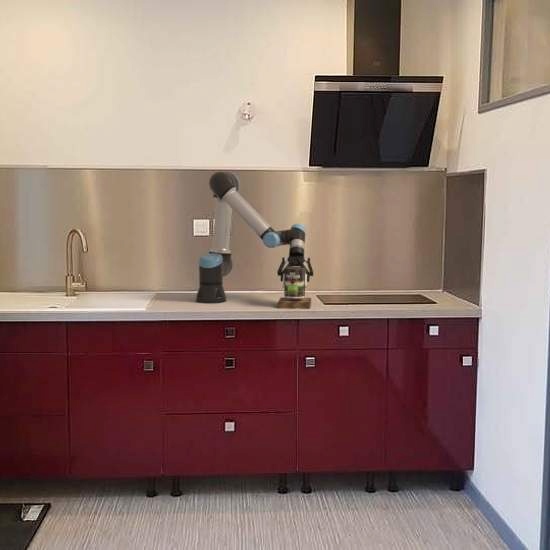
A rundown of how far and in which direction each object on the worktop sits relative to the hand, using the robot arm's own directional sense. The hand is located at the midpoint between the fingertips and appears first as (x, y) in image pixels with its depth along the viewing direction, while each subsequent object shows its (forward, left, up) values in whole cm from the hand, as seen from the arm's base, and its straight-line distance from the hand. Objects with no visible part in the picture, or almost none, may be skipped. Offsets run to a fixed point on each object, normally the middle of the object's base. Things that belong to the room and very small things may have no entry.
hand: (294, 286), depth 342 cm
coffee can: (0, +3, -6) cm, 6 cm away
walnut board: (0, +3, -10) cm, 10 cm away
